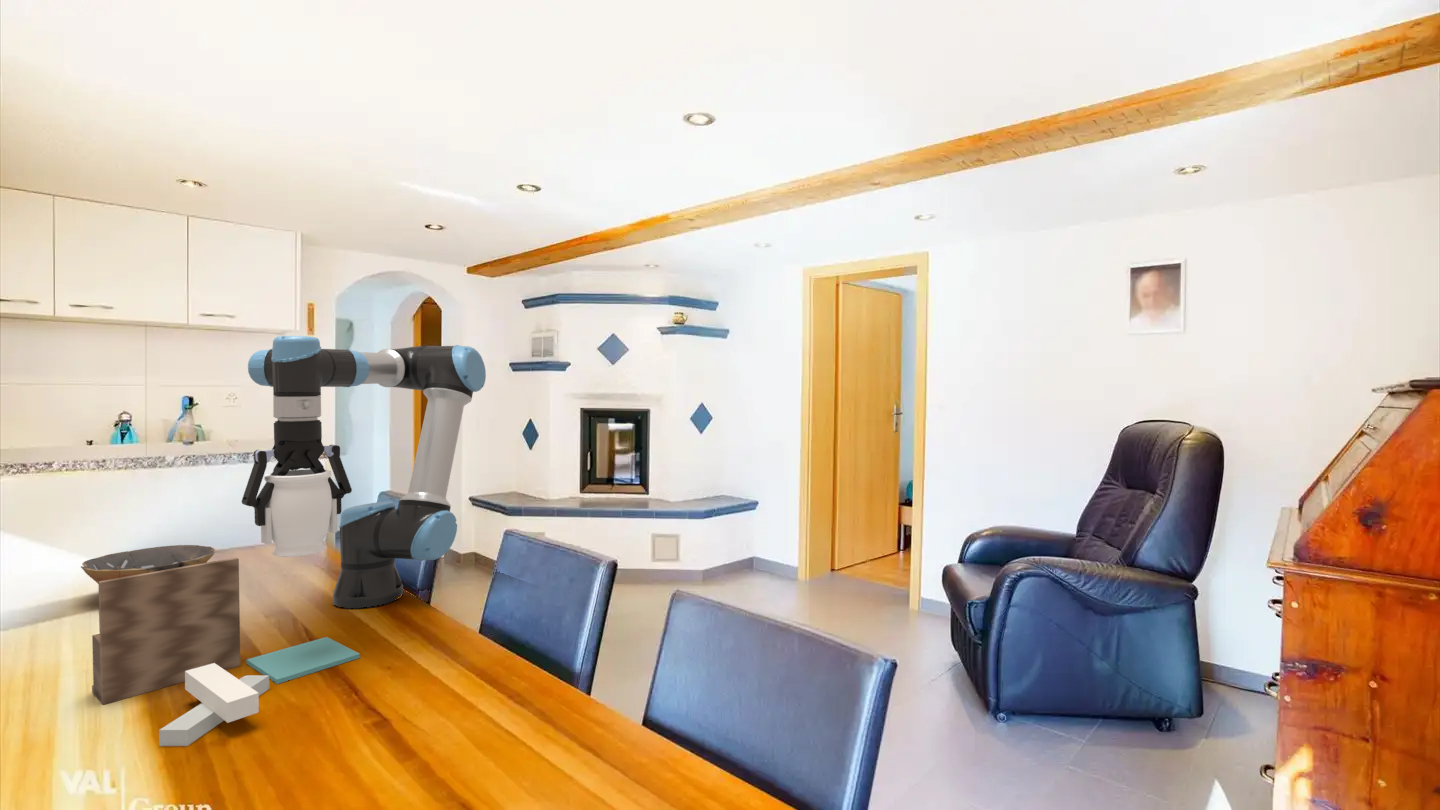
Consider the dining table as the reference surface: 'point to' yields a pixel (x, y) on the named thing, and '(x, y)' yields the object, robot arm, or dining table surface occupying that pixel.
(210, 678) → the offcut top
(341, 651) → the mat
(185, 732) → the offcut low
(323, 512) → the jar
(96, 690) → the wood grain panel
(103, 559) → the bowl
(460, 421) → the robot arm
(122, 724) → the dining table surface
